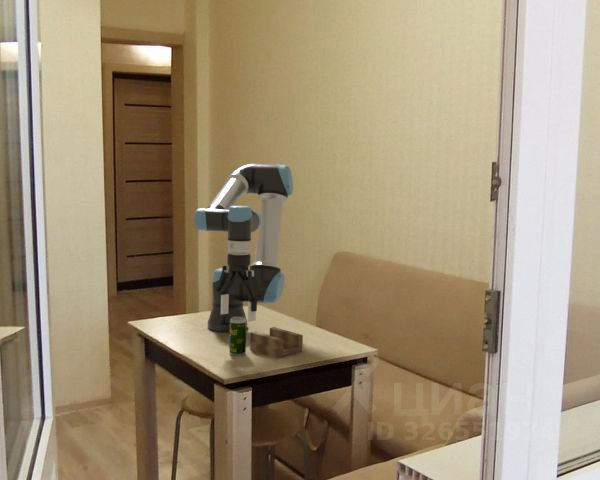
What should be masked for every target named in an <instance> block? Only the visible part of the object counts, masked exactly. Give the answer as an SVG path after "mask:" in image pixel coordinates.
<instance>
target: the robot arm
mask: <svg viewBox="0 0 600 480" xmlns="http://www.w3.org/2000/svg"><path fill="white" fill-rule="evenodd" d="M293 181H294V180H293V174H292V170H291V168H290V166H289V165H287V164H280V163H277V164H273V163H272V164H271V163H247V164H245V165H242V166H240V167H237V168H236V169H234V170H233V171H232V172H230V173H229V174H228V175H227V176H226V178H225V180H224V183H223V184H224V185H223V186H222V187H221V188H220V190H219V192H218V193H217V194H216V196H215V197H214V198H213V199H212V201H211V202H210V204H209V205H208V206H207V207H205V208H204V207H202V208H197V209H196V210H195V211H194V215H193V224H194V228H196V230H199V231H205V232H225V233H226V232H227V265H223V266H222V267H220V268H217V269H215V270H214V271H213V273H212V282H211V283H212V300H211V301H212V307H211V310H210V314H209V317H208V320H207V329H209V330H210V331H214V332H221V333H222V332H223V333H230V320H231V318H232V317H244V318H245V320H246V329H247V328H248V322H250V323H251V322H255V321H257V320H256V319H257V318H256V317H257V315H256V314H257V310H258V303H263V304H265V305H266V304H276V303H277V302H279V301H280V298H281V297H282V294H283V290H284V288H285V287H284V286H285V273H284V272H281V269H282V268H281V267H280V265H279V264H278V259H279V248H280V239H281V238H280V237H281V228H282V227H281V226H282V219H283V207H284V203H285V202H287V201H288V199H289V198H288V197H289V196H292V194H293V191H294V182H293ZM246 194H256V195H257V198H258V200H259V201H260V208H259V212H258V211H256V210H254V209H252V207H251V206H249V205H248V206H247V205H236V204H238V202H239V200H240V198H242V197H244V196H246ZM255 231H257V234H256V235H257V236H256V243H255V244H256V246H255V254H254V256H255V257H254V262H253V263H251V259H252V258H251V254H250V253H251V252H252V245H251V244H252V233H253V232H255ZM244 302H245V303H247V315H246V312H245V309H244ZM246 316H247V317H246Z"/></svg>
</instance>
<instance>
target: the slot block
mask: <svg viewBox="0 0 600 480" xmlns="http://www.w3.org/2000/svg"><path fill="white" fill-rule="evenodd" d="M249 335H250V338H249V340H250V342H249V343H250V344H249V345H250V349H249V350H251V351H253V352H257V353H260V354H263V355H267V356H270V357H272V358H276V359H278V360H279V359H283V358H286V357H289V356H290V357H291V356H294V355H298V354H300V353H303V342H304V341H303V337H304V335H303V334H302V333H301V334H300V333H297V332H294V331H290V330H286V329H282V328H279V327H275V326H273V327H269V334H265V333H262V332H258V331H250V334H249Z"/></svg>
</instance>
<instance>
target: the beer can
mask: <svg viewBox="0 0 600 480" xmlns="http://www.w3.org/2000/svg"><path fill="white" fill-rule="evenodd" d="M246 320H247V319H246ZM246 320H245V318H244V317H232V318H231V320H230V332H229V354H230V355H231V356H233V357H239V356H241V357H242V356H244V355H245V354H246V351H247V350H246V349H247V348H246V347H247V346H246V345H247V328H246Z"/></svg>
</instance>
